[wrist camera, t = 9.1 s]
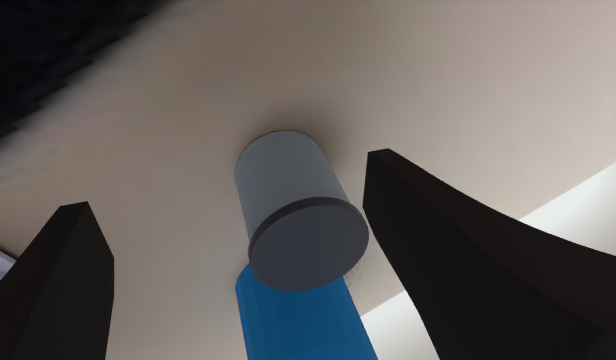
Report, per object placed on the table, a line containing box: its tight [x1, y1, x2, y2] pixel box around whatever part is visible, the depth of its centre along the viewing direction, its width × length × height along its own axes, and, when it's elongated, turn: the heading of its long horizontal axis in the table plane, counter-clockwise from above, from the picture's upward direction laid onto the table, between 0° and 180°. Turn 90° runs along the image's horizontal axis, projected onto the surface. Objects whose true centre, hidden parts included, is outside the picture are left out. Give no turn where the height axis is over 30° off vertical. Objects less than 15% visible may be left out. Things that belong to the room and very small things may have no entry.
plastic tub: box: [235, 131, 369, 292], centre depth 20 cm, size 5×5×6 cm
